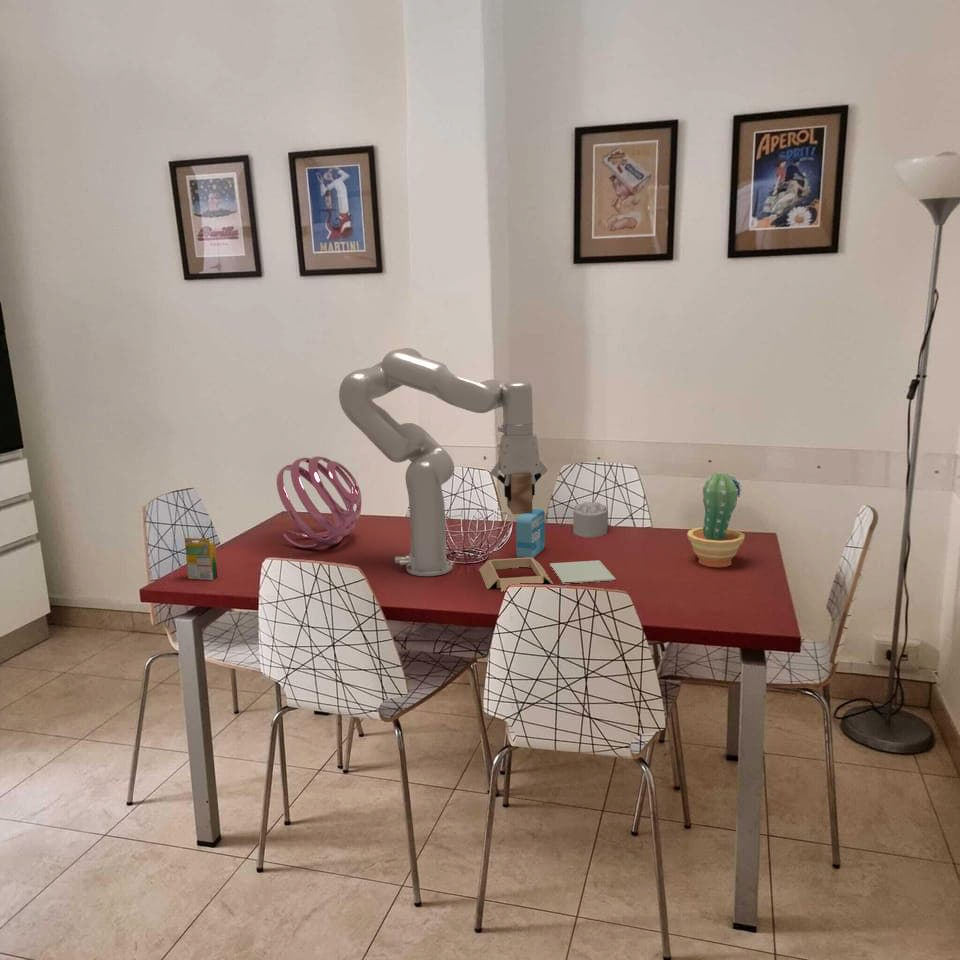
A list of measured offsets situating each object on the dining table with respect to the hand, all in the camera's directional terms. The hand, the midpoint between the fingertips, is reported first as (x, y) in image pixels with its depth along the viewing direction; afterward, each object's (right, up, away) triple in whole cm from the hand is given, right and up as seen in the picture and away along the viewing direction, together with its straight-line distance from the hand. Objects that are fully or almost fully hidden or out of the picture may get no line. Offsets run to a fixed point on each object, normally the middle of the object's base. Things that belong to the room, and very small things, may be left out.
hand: (519, 498), depth 229 cm
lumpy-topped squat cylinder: (+24, -12, +46) cm, 53 cm away
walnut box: (0, -3, +1) cm, 3 cm away
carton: (-1, -21, +5) cm, 22 cm away
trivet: (+17, -20, +7) cm, 27 cm away
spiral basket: (-58, -15, +39) cm, 71 cm away
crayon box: (-85, -22, +10) cm, 89 cm away
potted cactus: (+54, -18, +14) cm, 59 cm away
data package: (+4, -17, +25) cm, 30 cm away
